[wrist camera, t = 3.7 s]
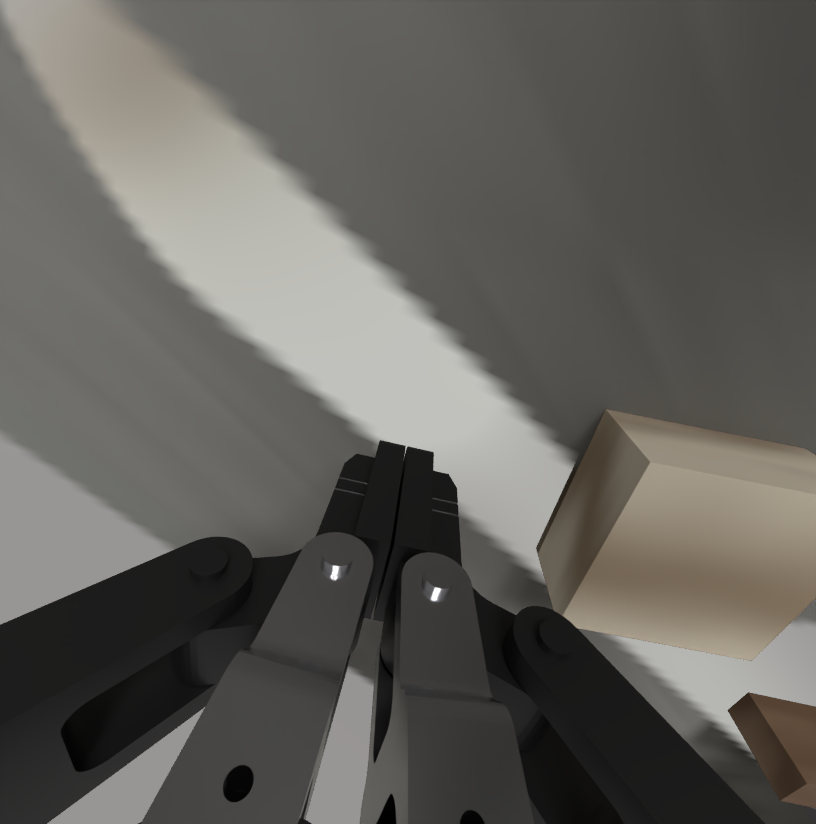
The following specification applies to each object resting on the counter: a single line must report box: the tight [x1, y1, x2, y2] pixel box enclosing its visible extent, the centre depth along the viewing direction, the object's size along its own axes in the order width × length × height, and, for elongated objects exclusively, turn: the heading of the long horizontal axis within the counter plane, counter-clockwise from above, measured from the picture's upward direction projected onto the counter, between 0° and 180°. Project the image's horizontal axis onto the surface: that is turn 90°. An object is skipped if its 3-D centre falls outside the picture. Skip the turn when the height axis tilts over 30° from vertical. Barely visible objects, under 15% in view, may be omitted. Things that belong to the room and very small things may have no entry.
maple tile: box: [536, 409, 816, 661], centre depth 12 cm, size 6×6×3 cm
